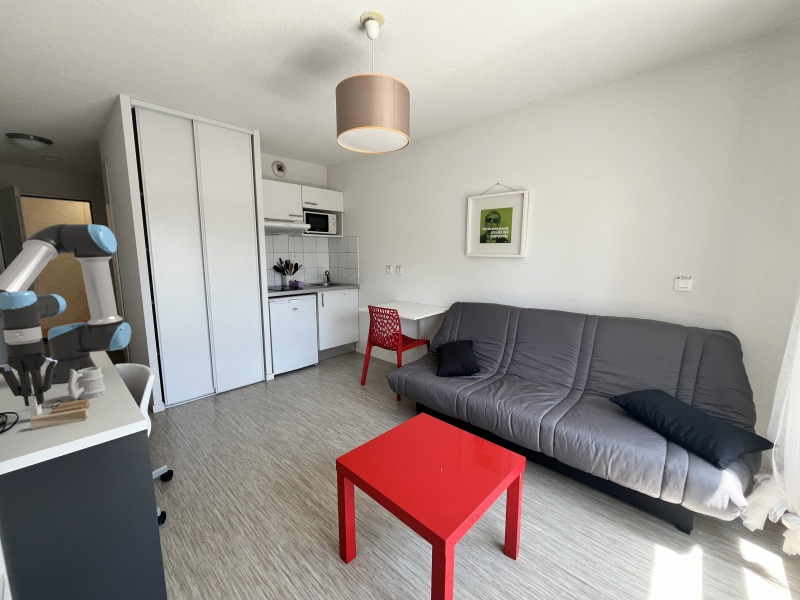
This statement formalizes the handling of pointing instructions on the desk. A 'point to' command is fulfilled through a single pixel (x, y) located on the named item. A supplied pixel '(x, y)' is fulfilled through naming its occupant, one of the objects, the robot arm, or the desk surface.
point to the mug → (86, 383)
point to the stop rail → (59, 418)
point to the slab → (71, 406)
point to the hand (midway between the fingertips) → (36, 414)
